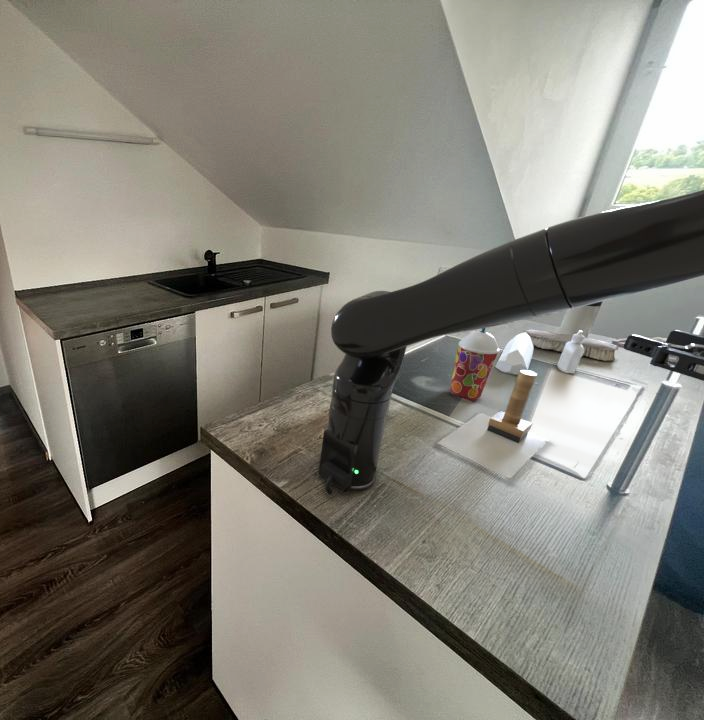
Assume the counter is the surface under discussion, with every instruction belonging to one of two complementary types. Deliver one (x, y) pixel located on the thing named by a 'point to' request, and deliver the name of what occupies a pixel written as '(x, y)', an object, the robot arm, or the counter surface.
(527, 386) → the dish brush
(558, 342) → the shoe brush
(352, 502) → the counter surface
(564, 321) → the travel mug
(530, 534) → the counter surface
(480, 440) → the tile
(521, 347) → the crystal
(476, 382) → the smoothie
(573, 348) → the eye dropper bottle
